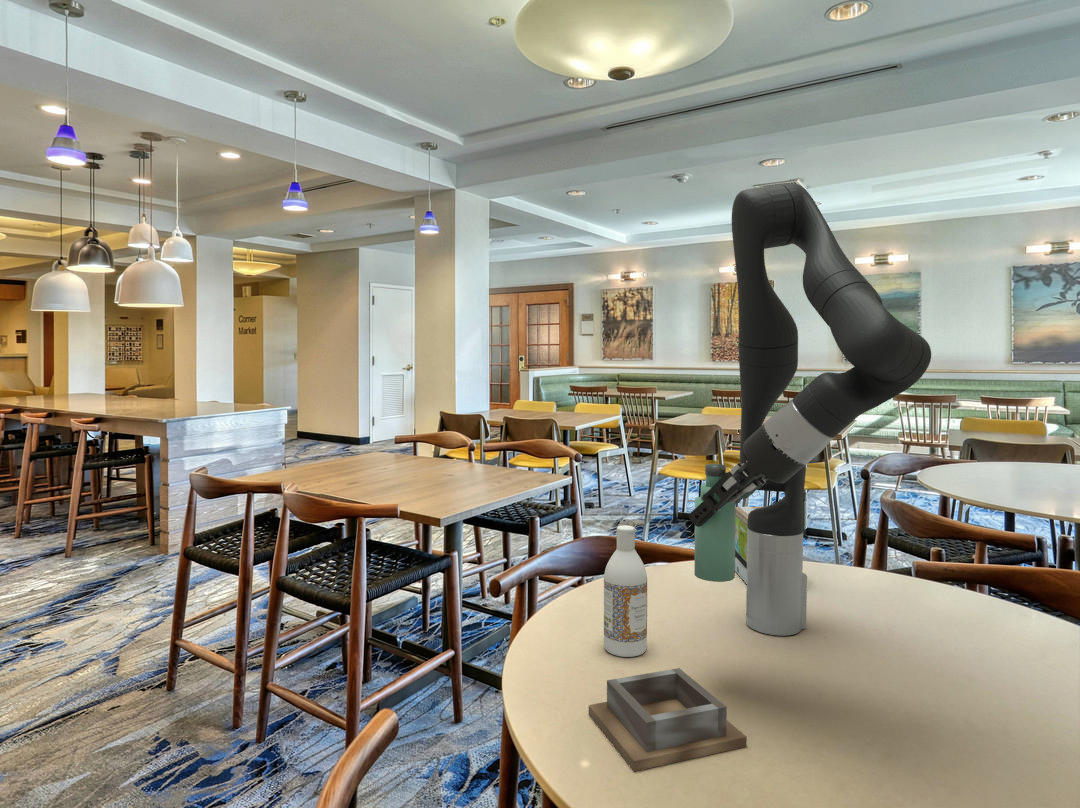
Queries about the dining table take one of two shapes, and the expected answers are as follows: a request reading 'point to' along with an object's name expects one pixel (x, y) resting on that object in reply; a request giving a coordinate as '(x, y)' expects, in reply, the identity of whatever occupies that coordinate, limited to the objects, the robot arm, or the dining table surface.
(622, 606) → the bath foam
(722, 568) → the green bottle
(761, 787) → the dining table surface
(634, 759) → the bottle stand
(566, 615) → the dining table surface
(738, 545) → the tea box
